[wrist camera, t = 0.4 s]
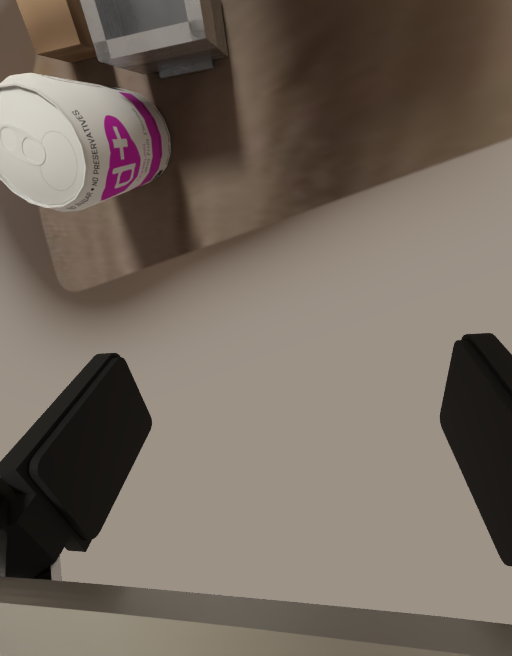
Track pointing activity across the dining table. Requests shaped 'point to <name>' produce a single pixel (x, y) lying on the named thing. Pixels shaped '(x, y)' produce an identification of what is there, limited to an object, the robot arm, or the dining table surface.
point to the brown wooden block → (58, 29)
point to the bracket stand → (157, 34)
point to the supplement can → (77, 141)
